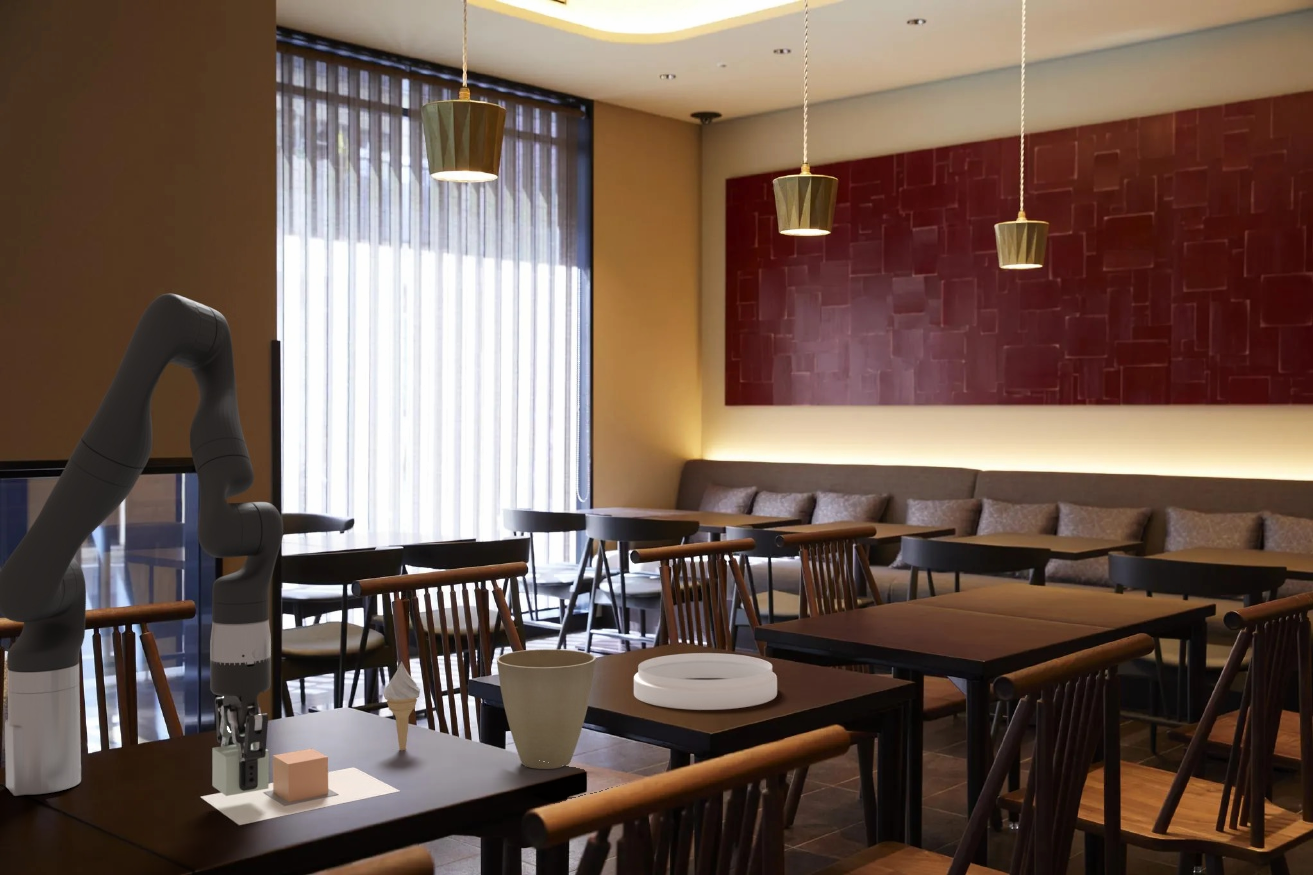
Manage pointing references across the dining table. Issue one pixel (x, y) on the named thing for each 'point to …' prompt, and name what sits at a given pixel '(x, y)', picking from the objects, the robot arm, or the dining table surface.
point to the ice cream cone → (401, 701)
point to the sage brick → (235, 770)
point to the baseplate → (270, 805)
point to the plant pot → (546, 702)
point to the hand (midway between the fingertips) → (240, 782)
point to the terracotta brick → (300, 774)
